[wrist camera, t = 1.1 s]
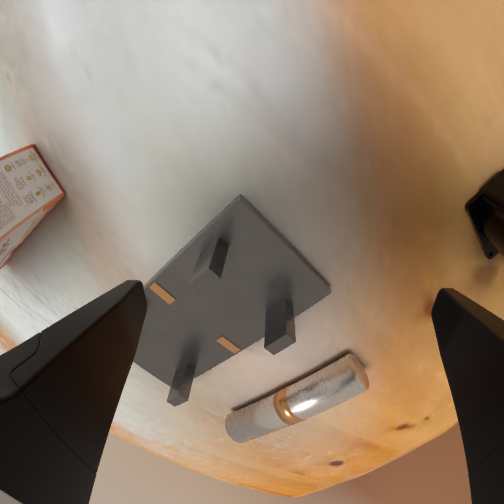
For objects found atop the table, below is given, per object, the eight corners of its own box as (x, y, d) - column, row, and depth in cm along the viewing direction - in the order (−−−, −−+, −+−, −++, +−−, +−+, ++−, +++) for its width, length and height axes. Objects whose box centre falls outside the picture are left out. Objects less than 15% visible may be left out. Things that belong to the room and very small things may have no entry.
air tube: (344, 345, 28) (349, 376, 24) (366, 367, 29) (371, 397, 25) (228, 406, 34) (221, 433, 30) (252, 422, 35) (247, 448, 31)
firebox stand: (329, 285, 24) (339, 327, 20) (176, 382, 32) (166, 418, 27) (240, 194, 21) (232, 224, 17) (102, 328, 28) (82, 363, 24)
